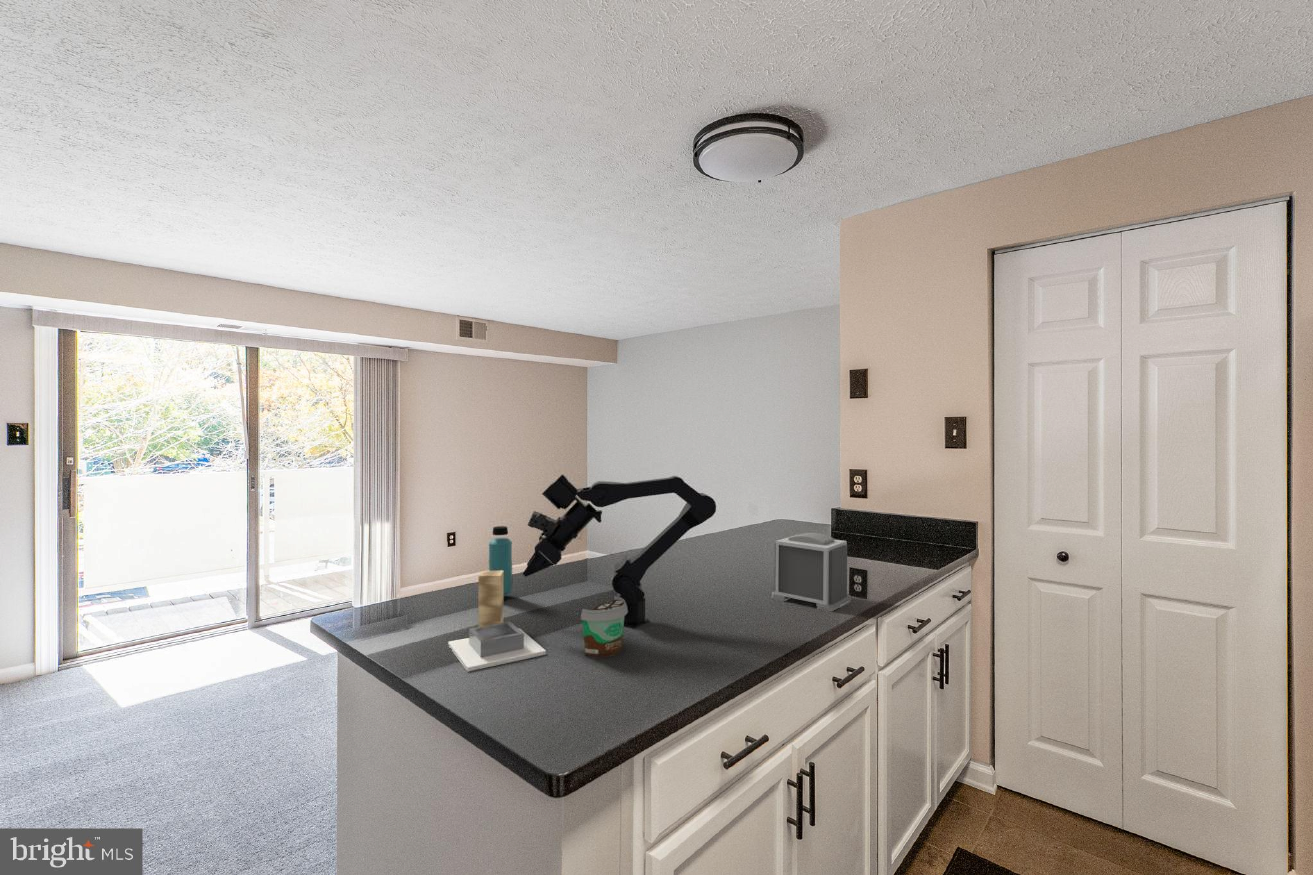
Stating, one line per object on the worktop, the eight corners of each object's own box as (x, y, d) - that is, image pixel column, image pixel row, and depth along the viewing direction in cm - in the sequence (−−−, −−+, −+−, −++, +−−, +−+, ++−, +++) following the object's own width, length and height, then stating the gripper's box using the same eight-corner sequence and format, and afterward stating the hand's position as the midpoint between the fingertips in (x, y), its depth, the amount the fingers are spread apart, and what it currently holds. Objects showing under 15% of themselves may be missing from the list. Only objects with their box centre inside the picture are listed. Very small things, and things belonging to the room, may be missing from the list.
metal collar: (509, 635, 128) (509, 621, 127) (523, 648, 120) (523, 633, 120) (468, 643, 123) (468, 628, 123) (480, 657, 115) (480, 641, 115)
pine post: (503, 624, 138) (503, 570, 138) (500, 631, 133) (500, 575, 133) (481, 624, 137) (482, 570, 137) (478, 632, 132) (478, 576, 132)
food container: (604, 664, 114) (604, 614, 114) (580, 658, 117) (580, 609, 117) (638, 645, 124) (638, 599, 124) (615, 639, 128) (616, 595, 128)
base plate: (519, 631, 132) (519, 628, 132) (545, 654, 119) (545, 650, 119) (448, 645, 124) (448, 641, 124) (467, 671, 110) (467, 667, 110)
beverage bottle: (517, 596, 161) (517, 525, 161) (501, 602, 155) (501, 529, 155) (499, 593, 164) (499, 523, 163) (482, 599, 158) (483, 527, 157)
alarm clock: (852, 601, 158) (852, 535, 158) (832, 612, 148) (833, 542, 148) (791, 589, 170) (792, 527, 170) (769, 598, 160) (770, 533, 160)
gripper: (550, 495, 146) (506, 540, 145) (545, 504, 127) (495, 555, 126) (581, 525, 147) (538, 569, 146) (581, 538, 128) (531, 589, 127)
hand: (526, 570), depth 136 cm, fingers open, 9 cm apart
